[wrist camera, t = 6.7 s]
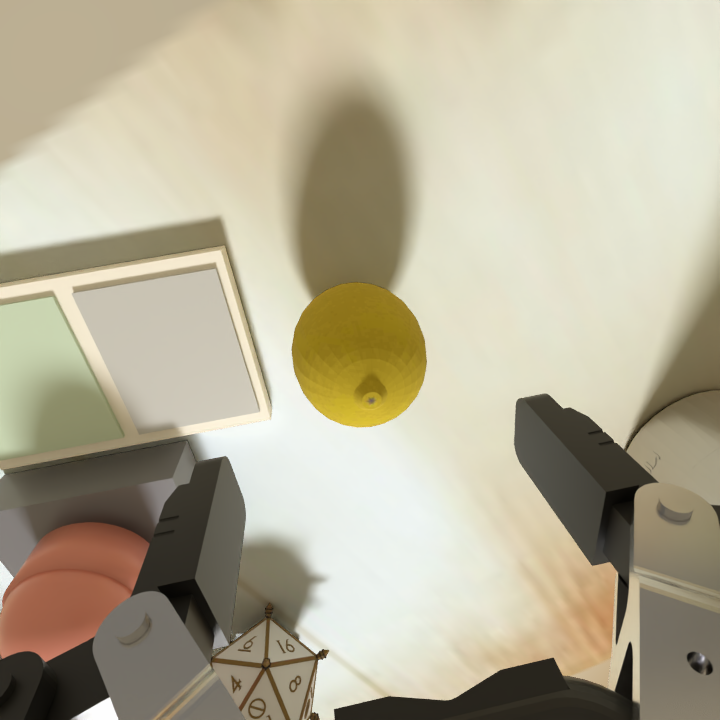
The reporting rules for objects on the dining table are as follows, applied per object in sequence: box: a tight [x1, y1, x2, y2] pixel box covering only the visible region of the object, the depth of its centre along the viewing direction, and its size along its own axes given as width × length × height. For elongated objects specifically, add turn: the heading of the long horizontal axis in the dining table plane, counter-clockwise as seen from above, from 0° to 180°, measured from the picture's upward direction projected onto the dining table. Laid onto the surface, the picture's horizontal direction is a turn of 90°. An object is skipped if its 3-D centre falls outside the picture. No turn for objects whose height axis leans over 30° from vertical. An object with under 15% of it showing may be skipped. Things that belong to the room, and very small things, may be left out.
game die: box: [210, 603, 329, 720], centre depth 28 cm, size 9×8×10 cm
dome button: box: [0, 522, 150, 662], centre depth 20 cm, size 6×6×6 cm
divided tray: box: [0, 245, 272, 470], centre depth 20 cm, size 14×9×1 cm, turn 98°
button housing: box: [0, 441, 196, 577], centre depth 24 cm, size 10×8×3 cm
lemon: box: [292, 282, 427, 427], centre depth 18 cm, size 6×6×8 cm
